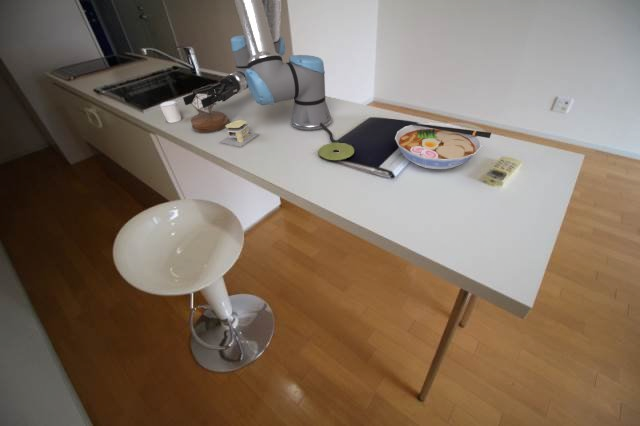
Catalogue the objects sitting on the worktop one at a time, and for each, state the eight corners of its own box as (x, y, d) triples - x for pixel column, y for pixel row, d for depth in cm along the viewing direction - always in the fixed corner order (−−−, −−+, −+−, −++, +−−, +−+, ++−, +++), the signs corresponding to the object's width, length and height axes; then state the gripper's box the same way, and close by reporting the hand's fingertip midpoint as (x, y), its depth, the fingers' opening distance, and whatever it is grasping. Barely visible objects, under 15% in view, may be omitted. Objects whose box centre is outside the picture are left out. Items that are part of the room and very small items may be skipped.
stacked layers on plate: (239, 131, 109) (235, 117, 106) (258, 135, 106) (255, 120, 102) (221, 142, 103) (216, 128, 99) (240, 146, 99) (236, 131, 96)
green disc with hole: (352, 166, 86) (352, 160, 84) (315, 164, 87) (315, 159, 86) (355, 148, 94) (355, 142, 93) (321, 147, 96) (321, 141, 94)
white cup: (186, 117, 123) (180, 101, 119) (174, 124, 119) (167, 107, 114) (174, 116, 126) (168, 99, 121) (162, 122, 121) (155, 105, 116)
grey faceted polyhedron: (209, 125, 113) (194, 110, 104) (195, 113, 116) (180, 98, 106) (224, 108, 114) (211, 93, 104) (211, 97, 116) (196, 81, 106)
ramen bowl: (376, 170, 83) (379, 144, 78) (403, 138, 97) (406, 114, 92) (469, 193, 72) (479, 165, 67) (484, 153, 87) (493, 127, 81)
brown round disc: (233, 127, 113) (230, 118, 111) (197, 136, 108) (193, 127, 106) (223, 115, 123) (221, 107, 120) (190, 123, 118) (187, 115, 115)
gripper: (255, 95, 119) (218, 116, 104) (216, 91, 127) (177, 109, 111) (251, 76, 114) (212, 95, 99) (211, 72, 122) (169, 89, 107)
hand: (193, 102), depth 105 cm, fingers closed on grey faceted polyhedron, 8 cm apart
